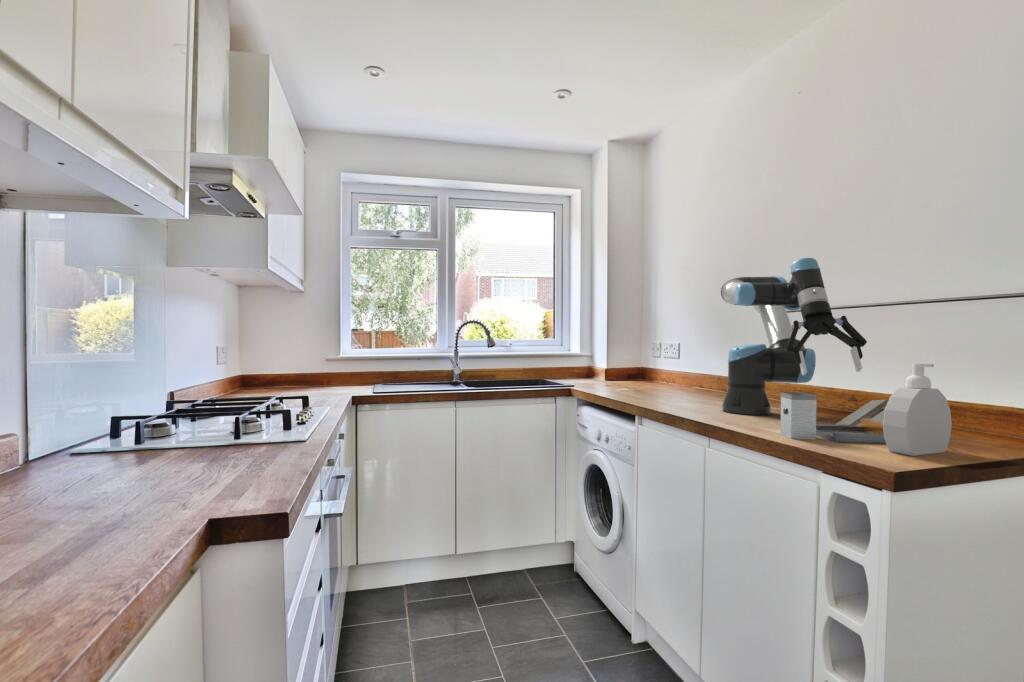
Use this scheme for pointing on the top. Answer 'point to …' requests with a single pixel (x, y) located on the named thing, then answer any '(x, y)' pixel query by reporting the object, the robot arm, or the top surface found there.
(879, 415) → the gray slanted bracket
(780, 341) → the robot arm
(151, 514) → the top surface
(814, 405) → the lock block
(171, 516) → the top surface
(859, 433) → the hitch plate
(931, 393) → the soap bottle
